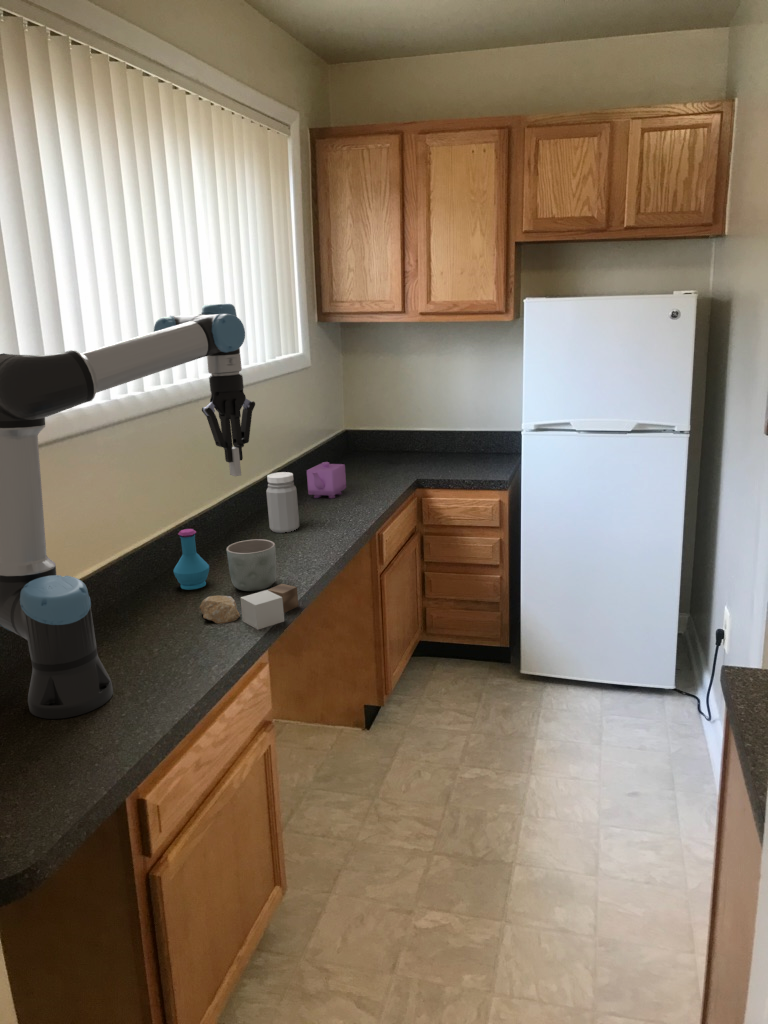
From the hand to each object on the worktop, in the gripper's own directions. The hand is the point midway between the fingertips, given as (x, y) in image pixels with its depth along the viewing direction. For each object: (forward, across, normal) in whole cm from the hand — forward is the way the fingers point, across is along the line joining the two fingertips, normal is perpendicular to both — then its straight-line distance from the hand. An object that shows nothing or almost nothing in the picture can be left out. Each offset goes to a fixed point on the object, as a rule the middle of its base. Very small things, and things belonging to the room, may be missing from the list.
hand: (235, 475), depth 197 cm
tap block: (+33, -3, -12) cm, 35 cm away
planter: (+33, +8, +11) cm, 35 cm away
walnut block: (+33, +5, -8) cm, 34 cm away
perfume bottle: (+33, -3, +24) cm, 41 cm away
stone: (+33, -8, -2) cm, 34 cm away
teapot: (+33, +78, +79) cm, 116 cm away
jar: (+33, +43, +52) cm, 75 cm away
